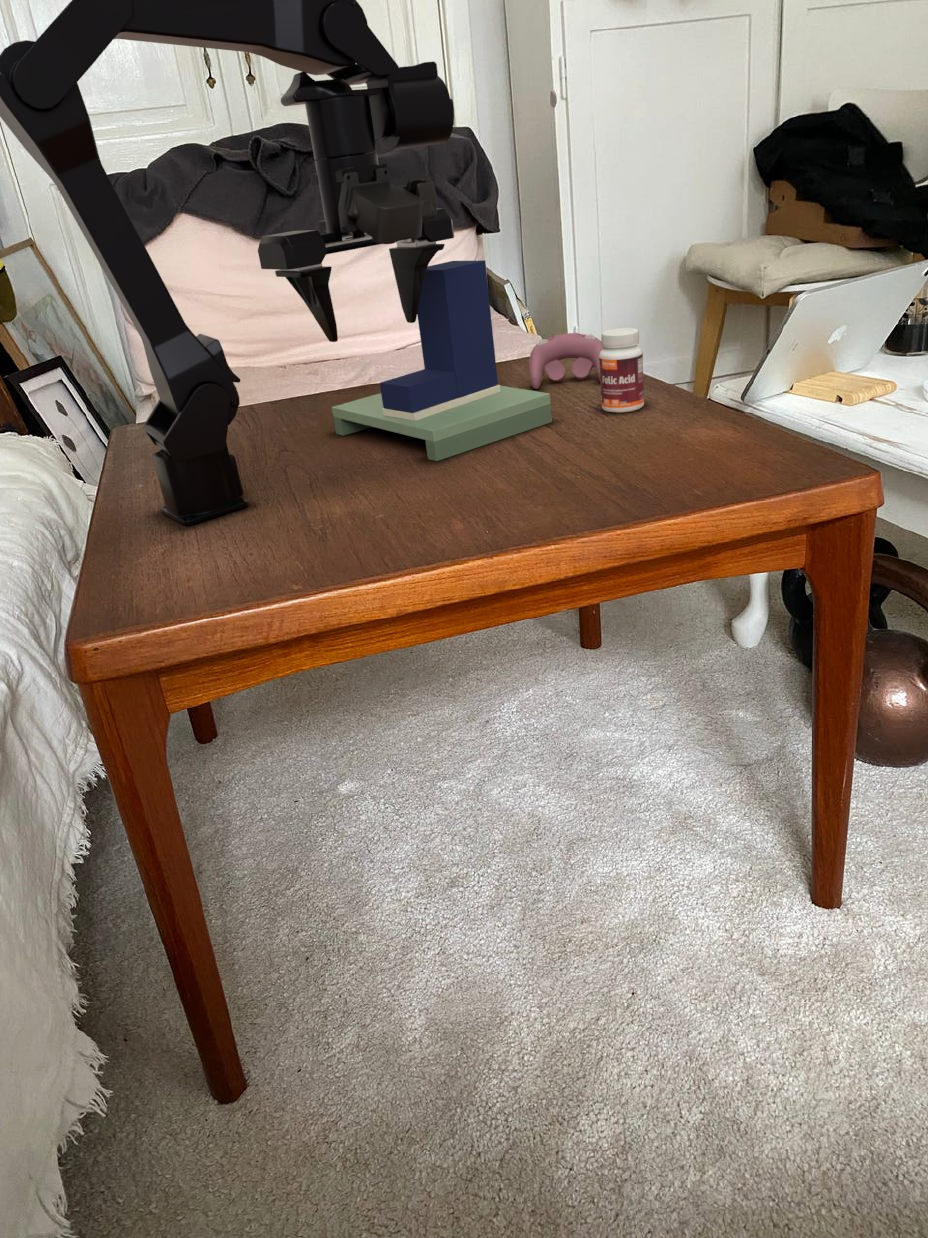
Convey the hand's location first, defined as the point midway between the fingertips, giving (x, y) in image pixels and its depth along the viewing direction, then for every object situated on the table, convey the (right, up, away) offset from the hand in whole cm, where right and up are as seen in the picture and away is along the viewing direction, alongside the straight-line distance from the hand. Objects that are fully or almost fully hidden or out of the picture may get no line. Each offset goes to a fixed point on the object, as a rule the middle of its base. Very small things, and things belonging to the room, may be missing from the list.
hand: (373, 331), depth 93 cm
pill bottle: (+27, -5, +13) cm, 30 cm away
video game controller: (+22, +2, +27) cm, 35 cm away
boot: (+7, -4, +11) cm, 14 cm away
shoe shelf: (+6, -7, +15) cm, 17 cm away
